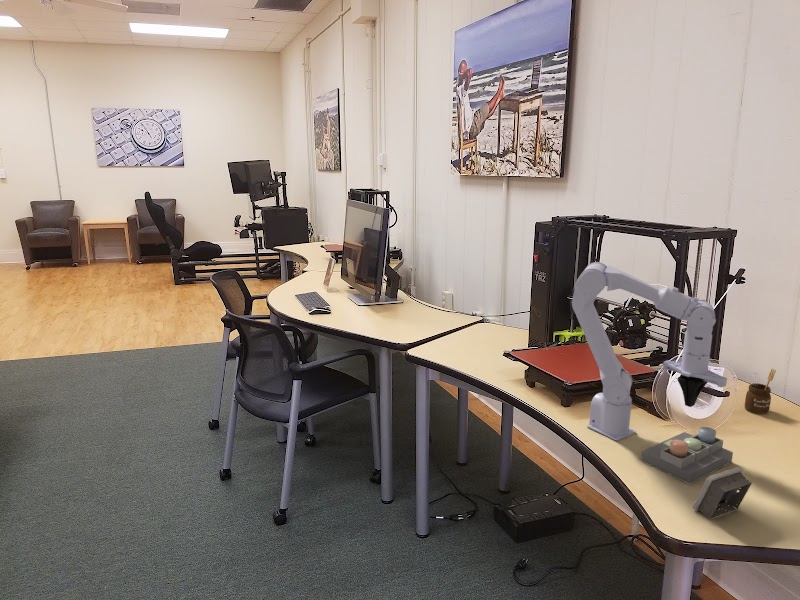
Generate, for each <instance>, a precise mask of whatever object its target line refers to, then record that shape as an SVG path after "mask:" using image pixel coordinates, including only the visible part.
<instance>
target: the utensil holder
mask: <svg viewBox="0 0 800 600" xmlns="http://www.w3.org/2000/svg"><path fill="white" fill-rule="evenodd" d="M776 371H777V370H776V369H773V368H771V369H770V372H769V374H768V376H767V380H768V381H767V383H766V384H763V383H761V381H760V375H759V374H758V373H757V372H753V375H754V378H755V379H757V378H758V380H756V382H754V381H752V377H749V381H750V382H751V383H750V384H749V385H748V390H747V391H746V394H745V399H744V409H745V410H746V411H748V412H749V413H752V414H757V415H766V414H768V413H769V412H770V409H771V403H772V402H771V401H772V395H771V392H772V389H771V387H770V386H769V384H770V382H771V381H773V379H774V376H775V374H776Z"/></svg>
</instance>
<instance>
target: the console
mask: <svg viewBox="0 0 800 600" xmlns="http://www.w3.org/2000/svg"><path fill="white" fill-rule="evenodd" d="M686 438H695V439H698V433H696V434H694V435H693V434H691V433H687V432H685V431H683V432H680V433H679V434H677V435H675V436H672V437H670V438H668V439H665V440H664V441H662V442H659V443H657V444H654V445H652V446H650V447H648V448H646V449H644V450H642V451H641V457H640V458H641V459H640V461H641V462H643V463H645V464H647V465H649V466H651V467H653V468H656V469H658V470H659V471H662V472H664V473H666V474H668V475H670V476H672V477H674V478H676V479H678V480H680V481H682V482H685V483H686V484H688V485H691V484H693V483H694V482H697V481H698V480H701V479H702V478H705V477H706V476H708V475H710V474H711V473H714V472H715V471H718V470H719V469H721V468H724V467H725V466H727V465H728V464H731V463H732V462H733V455H734V452H733V451H732V450H729V449H726V448H724V446H723V445H724V439H721V438H719V437H717V436H716V437H715V442H714V443H704V442H702V446H701V450H700V451H698V452H695V451H692V450H690V449H688V450H687V456H686V457H676V456H673V455H672V454H670V452H669V450H670V441H671V440H682V441H684V439H686Z"/></svg>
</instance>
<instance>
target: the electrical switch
mask: <svg viewBox="0 0 800 600" xmlns="http://www.w3.org/2000/svg"><path fill="white" fill-rule="evenodd" d="M743 472H744V469H743V468H741V467H740V466H735V467H734V468H731V469H727V470H724V471H720V472H717V473H715V474H711V475H709V476H707V478H706V479H705V481H704V483H703V485H702V487H701V489H700V490H699V491H700V492H699V493H698V495H697V496H696V499H695V501H694V503H693V506H692V508H693V510H694V511H695V512H699V511H700V512H702V514H704V515H705V516H706V517H707V518H708V519H709V520H712V519H714V518H718V517H721V516H723V515H726V514H728V513H732V512H734V511H736V510H739V507H740V505H741V504H742V502H743V500H744V498H745V496H746V495H747V493H748V491H749V489H750V487H751V485H752V484H753V482H751V481H750V480H749V479H748V478H747V477H746V476H745V475H744V474H743Z"/></svg>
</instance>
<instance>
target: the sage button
mask: <svg viewBox="0 0 800 600" xmlns="http://www.w3.org/2000/svg"><path fill="white" fill-rule="evenodd" d="M684 442H686V443H687V444H688V449H690V450H692V451H695V452H698V451H700V450H701V446H702V442H701V441H700V440H698V439H695V438H686V439H684Z"/></svg>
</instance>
